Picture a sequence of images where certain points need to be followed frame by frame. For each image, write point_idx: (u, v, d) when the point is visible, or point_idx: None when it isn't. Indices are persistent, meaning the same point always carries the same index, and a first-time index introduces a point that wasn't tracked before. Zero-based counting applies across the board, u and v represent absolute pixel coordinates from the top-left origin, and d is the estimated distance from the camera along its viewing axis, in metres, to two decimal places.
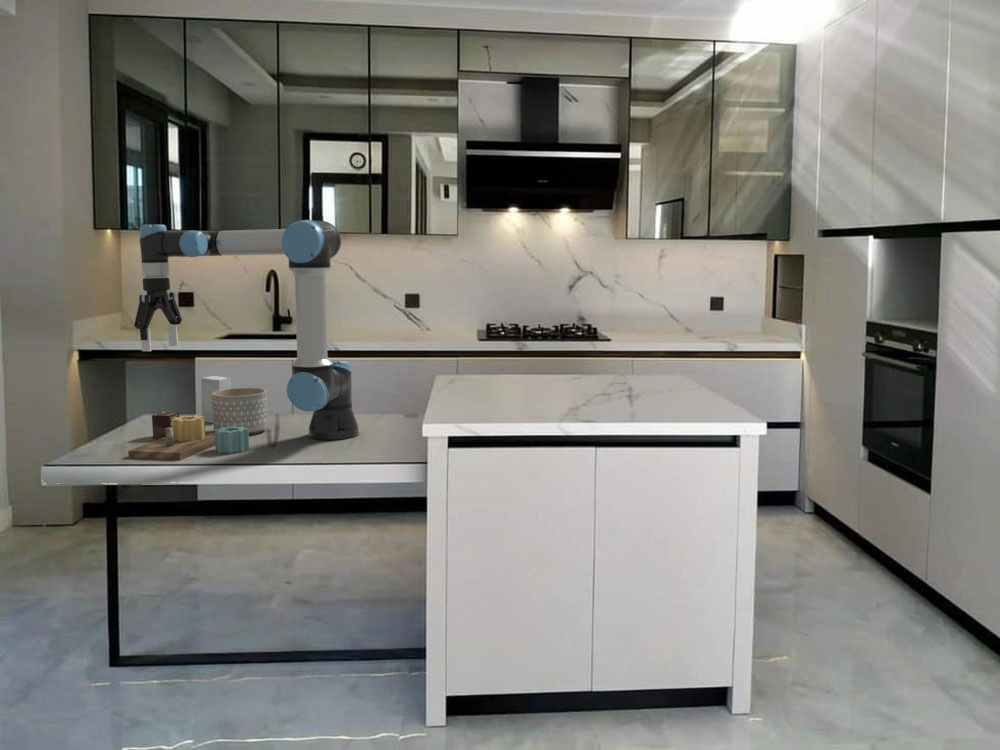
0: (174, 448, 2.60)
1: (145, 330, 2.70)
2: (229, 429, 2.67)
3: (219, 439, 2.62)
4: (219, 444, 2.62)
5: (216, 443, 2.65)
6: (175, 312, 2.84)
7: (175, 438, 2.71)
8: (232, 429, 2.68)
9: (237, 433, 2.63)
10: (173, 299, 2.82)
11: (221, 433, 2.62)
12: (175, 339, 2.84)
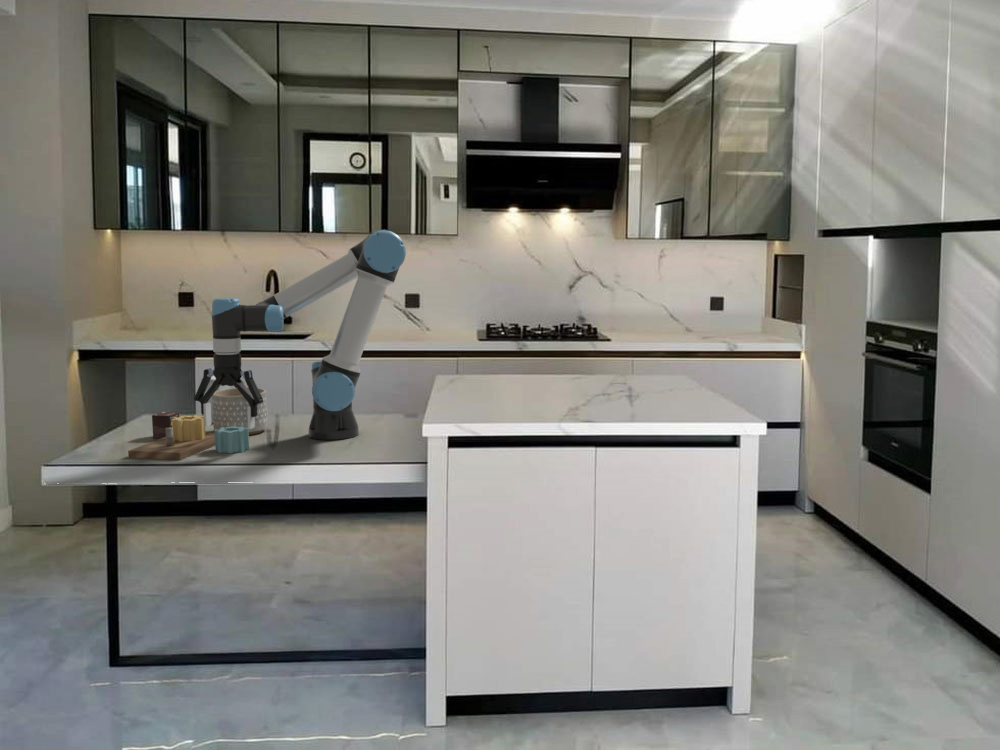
0: (174, 448, 2.60)
1: (202, 404, 2.65)
2: (229, 429, 2.67)
3: (219, 439, 2.62)
4: (219, 444, 2.62)
5: (216, 443, 2.65)
6: None
7: (175, 438, 2.71)
8: (232, 429, 2.68)
9: (237, 433, 2.63)
10: (246, 379, 2.61)
11: (221, 433, 2.62)
12: None
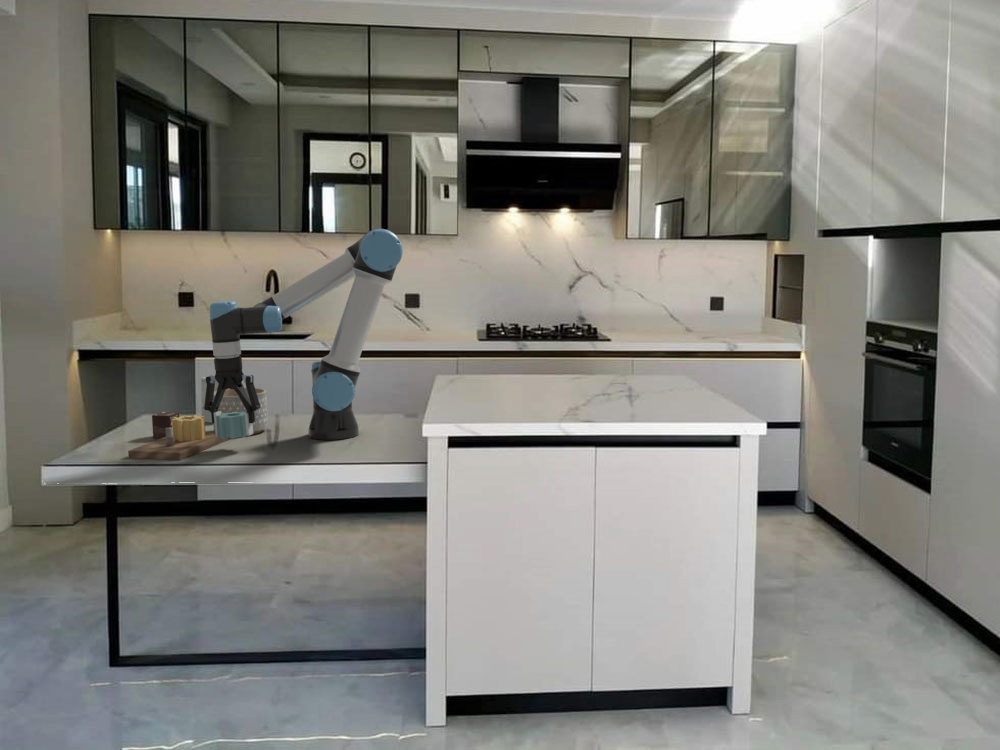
0: (174, 448, 2.60)
1: (213, 413, 2.66)
2: (230, 415, 2.67)
3: (221, 425, 2.62)
4: (221, 430, 2.62)
5: (218, 429, 2.64)
6: None
7: (175, 438, 2.71)
8: (233, 415, 2.67)
9: (239, 418, 2.63)
10: (247, 383, 2.61)
11: (222, 419, 2.62)
12: None
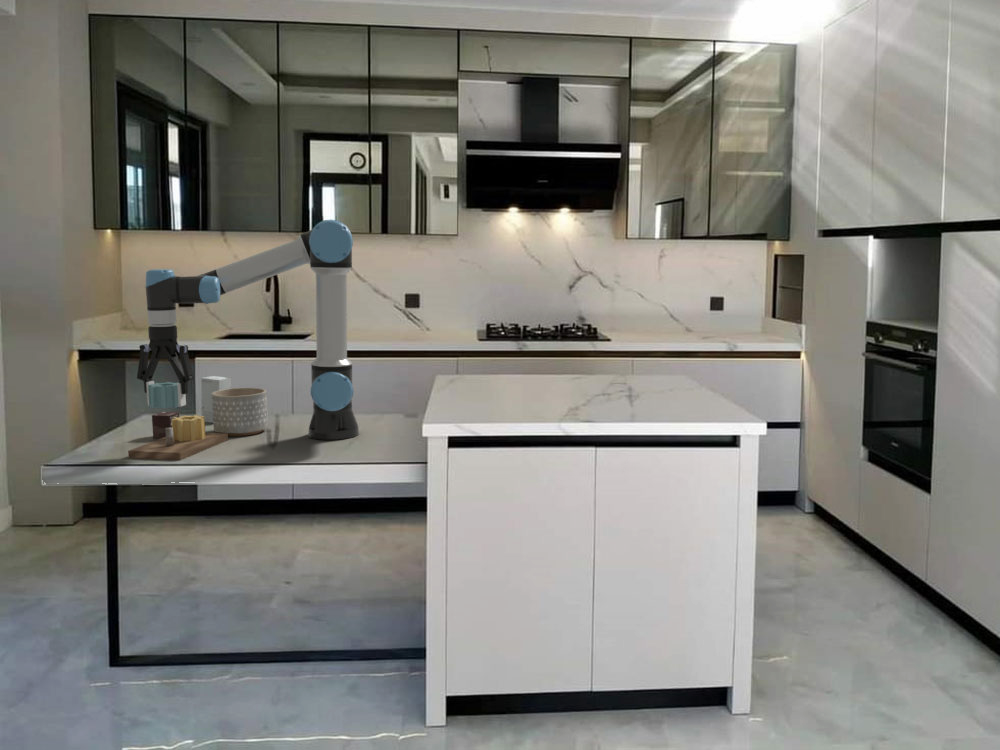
0: (174, 448, 2.60)
1: (145, 383, 2.62)
2: (164, 385, 2.63)
3: (152, 394, 2.58)
4: (152, 399, 2.58)
5: (150, 398, 2.60)
6: None
7: (175, 438, 2.71)
8: (167, 385, 2.63)
9: (171, 388, 2.59)
10: (181, 353, 2.58)
11: (154, 388, 2.58)
12: None
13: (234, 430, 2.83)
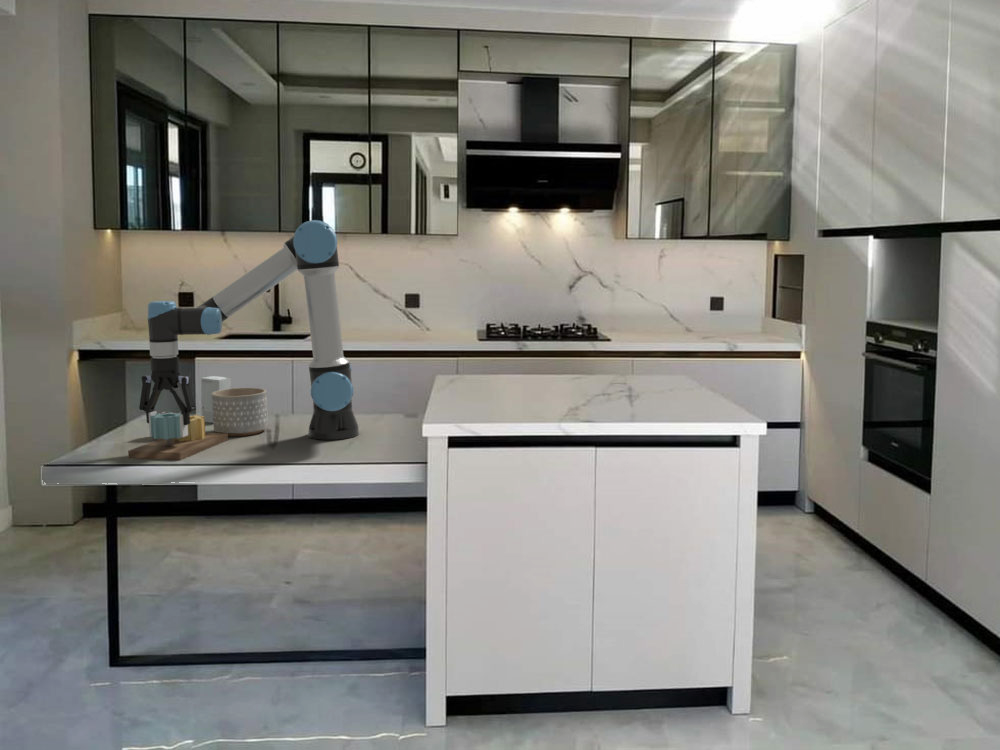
0: (174, 448, 2.60)
1: (148, 413, 2.63)
2: (166, 415, 2.64)
3: (154, 425, 2.59)
4: (154, 430, 2.59)
5: (152, 429, 2.62)
6: None
7: (175, 438, 2.71)
8: (169, 415, 2.65)
9: (173, 419, 2.60)
10: (183, 385, 2.59)
11: (156, 419, 2.59)
12: None
13: (234, 430, 2.83)
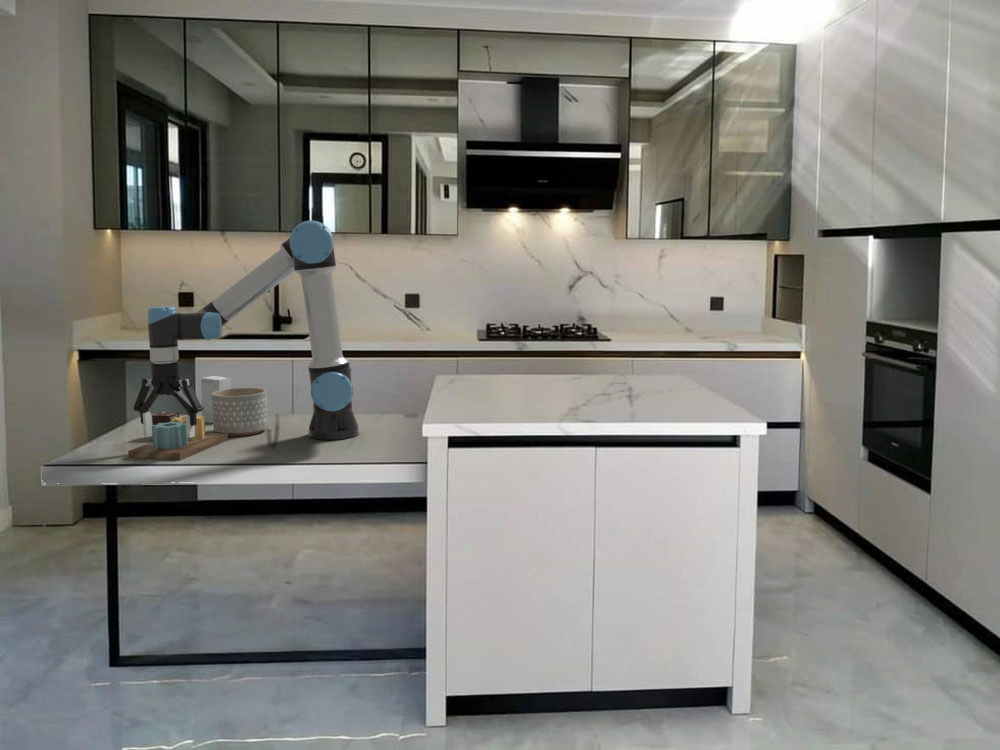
0: (174, 448, 2.60)
1: (142, 414, 2.63)
2: (167, 424, 2.65)
3: (156, 434, 2.59)
4: (156, 440, 2.60)
5: (153, 439, 2.62)
6: None
7: None
8: (170, 424, 2.65)
9: (174, 428, 2.60)
10: (184, 387, 2.59)
11: (158, 428, 2.59)
12: None
13: (234, 430, 2.83)
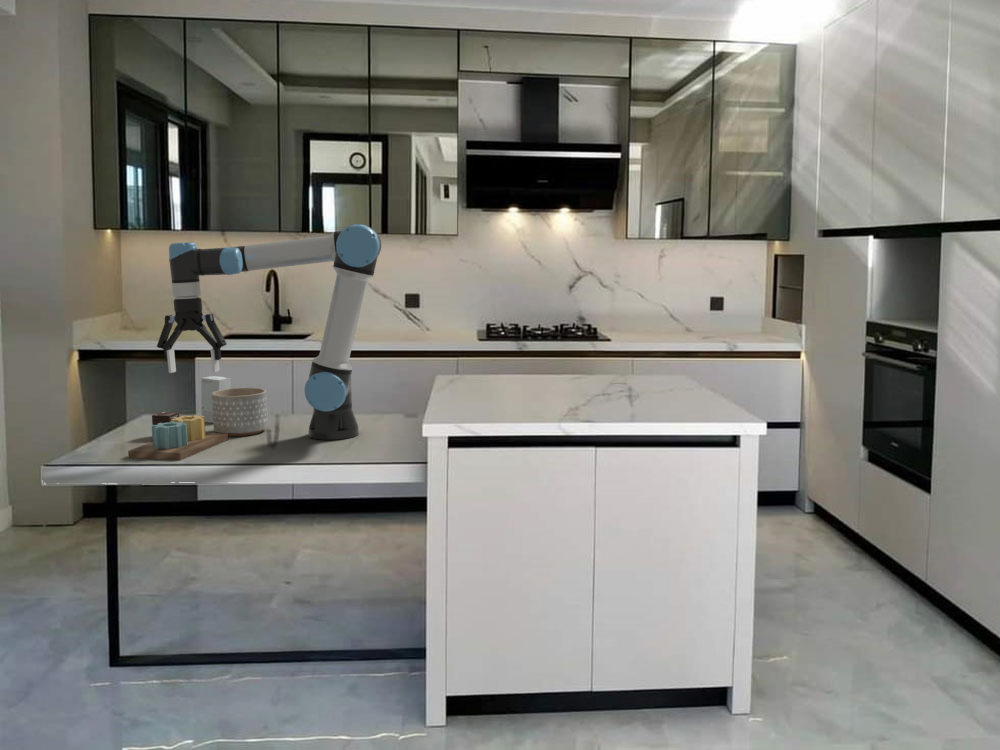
0: (174, 448, 2.60)
1: (166, 351, 2.66)
2: (167, 424, 2.65)
3: (156, 434, 2.59)
4: (156, 440, 2.60)
5: (153, 439, 2.62)
6: None
7: None
8: (170, 424, 2.65)
9: (174, 428, 2.60)
10: (208, 322, 2.61)
11: (158, 428, 2.59)
12: None
13: (234, 430, 2.83)
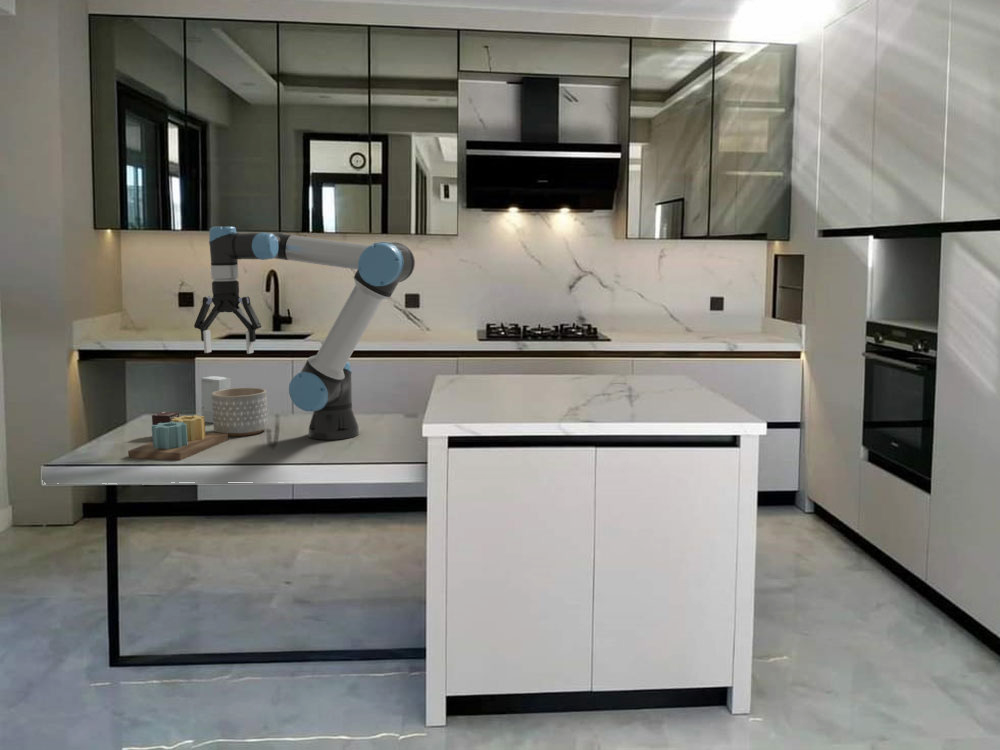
0: (174, 448, 2.60)
1: (202, 331, 2.73)
2: (167, 424, 2.65)
3: (156, 434, 2.59)
4: (156, 440, 2.60)
5: (153, 439, 2.62)
6: None
7: None
8: (170, 424, 2.65)
9: (174, 428, 2.60)
10: (244, 304, 2.69)
11: (158, 428, 2.59)
12: None
13: (234, 430, 2.83)
